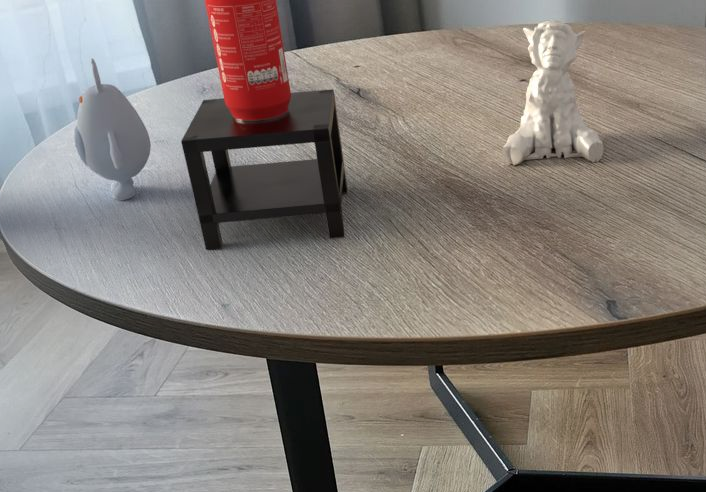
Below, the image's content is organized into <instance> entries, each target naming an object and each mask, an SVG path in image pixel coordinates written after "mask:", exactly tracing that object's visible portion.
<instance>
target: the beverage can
mask: <svg viewBox="0 0 706 492" xmlns="http://www.w3.org/2000/svg"><path fill="white" fill-rule="evenodd" d="M204 4H205V10H206V14H207V19H208V24H209V30H210V34H211V39H212V44H213V50H214V54H215V59H216V64H217V70H218V75H219V79H220V85H221V89H222V90H221V91H222V95H223V98H224V100H225V104H226V106H227V107H228V108H229V110H230V111H231V113H232V115H233V118H234V119H236V120H240V121H264V120H270V119H274V118H277V117H280V116H283V115H285V114H286V113H287V112H288V106H289V102H290V99H291V93H292V91H291V86H290V78H289V74H288V67H287V62H286V61H287V60H286V55H285V48H284V41H283V35H282V30H281V24H280V18H279V12H278V6H277V0H204Z"/></svg>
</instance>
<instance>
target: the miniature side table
mask: <svg viewBox="0 0 706 492" xmlns="http://www.w3.org/2000/svg"><path fill="white" fill-rule="evenodd" d="M335 96H336V95H335V90H334V89H320V90H310V91H309V90H307V91H295V92H291V99H290V102H289V106H288V112H287V113H286V114H285V115H283V116H280V117H277V118H274V119H270V120H264V121H240V120H236V119H234V118H233V115H232V113H231V111H230V110H229V108H228V107H227V106H226V104H225V100H224V97H223V98H212V99H203V100H202V101H201V103H200V106H199V107H198V109H197V111H196V112H195V114H194V116H193V118H192V120H191V122H190V123H189V126H188V128H187V130H186V131H185V132H184V135H183V137H182V138H181V141H180V143H181V146H182V152H183V155H184V161H185V164H186V169H187V172H188V173H187V174H188V177H189V181H190V185H191V190H192V195H193V199H194V203H195V208H196V213H197V217H198V222H199V225H200V230H201V235H202V239H203V243H204V247H205V250H206V251H209V250H220V249H222V246H223V236H222V233H221V228H220V224H222V223H234V222H244V221H255V220H264V219H265V220H266V219H267V220H268V219H277V218H289V217H299V216H310V215H322V214H325V219H326V224H327V226H326V227H327V232H328V238H329V239H330V240H331V239H339V238H340V239H341V238H345V235H346V234H345V233H346V231H345V223H344V217H343V210H342V200H343V199H342V198H343V194H347V193H348V182H347V176H346V168H345V167H346V166H345V162H344V155H343V147H342V139H341V133H340V132H341V131H340V126H339V117H338V111H337V103H336V97H335ZM311 143H314V147H315V148H314V149H315V154H316V158H312V159H301V160H290V161H278V162H277V161H276V162H268V163H267V162H265V163H255V164H243V165H232V164H231V159H230V154H229V150H240V149H241V150H242V149H253V148H264V147H265V148H266V147H276V146H289V145H297V144H298V145H300V144H311ZM205 152H211V158H212V161H213V166H214V170H215V173H214V175H213V178H212V180H211V182H210V178H209V173H208V167H207V163H206V159H205V154H204V153H205Z"/></svg>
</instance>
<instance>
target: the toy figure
mask: <svg viewBox="0 0 706 492" xmlns="http://www.w3.org/2000/svg"><path fill="white" fill-rule="evenodd" d="M90 66H91V71H92V77H93V81H94V84H95V85H91V86H89V87H87V88H86V89H85V90H84V91H83V92H82V94H81V95H80V97H79V98H78V101H79V106H78V110H77V115H76V125H75V128H74V136H73V137H74V144H75V148H76V151H77V153H78V156H79V158H80V159H81V161H82V163H83V164H84V165H85V166H86V167H88V168H89V169H90V171H92V172H93V173H95V174H96V175H98V176H99V177H101V178H103V179H106V180H108V181H113V182H112V183H111V185H110V188H111V190H112V192H111V193H112V194H111V195H112V198H114V199H115V200H117V201H126V200H129V199H131V198H132V197H133V196H134V195H135V193H136V186H135V185H134V183H135V182H134V181H135V180H134V179H133V178H134V177H137V176H138V175H139V174H140V172H142V170H143V169H144V168H145V167H146V165H147V163H148V160H149V158H150V154H151V149H152V148H151V146H152V145H151V138H150V135H149V132H148V130H147V127H146V125H145V123H144V121H143V120H142V118H141V117H140V115H139V113H138V111H137V110H136V109H135V107H134V106H133V104H132V103H131V102H130V101H129V99H128V98H127V97H126V96H125V95H124V93H123V92H122V91H121V90H120V89H119V88H118V87H117V86H115V85H113V84H107V83H101V82H102V81H101V76H100V72H99V69H98V66H97V63H96V61H95V59H94V58H90Z"/></svg>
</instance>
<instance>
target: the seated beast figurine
mask: <svg viewBox="0 0 706 492" xmlns="http://www.w3.org/2000/svg"><path fill="white" fill-rule="evenodd" d="M522 31H523V33H524V35H525V37H526V39H527V41H528V43H529V45H528V47H527V51H528V52H529V58H530V60H531V64H532V65H534V66H535V68H537V69H536V70H534V72H533V74H532V76H531V78H530V79H529V84H528V86H527V88H526V91H525V98H526V99H525V100H526V101H525V105H524V106H525V107H524V109H523V115H522V116H521V117H520V122H519V124H520V126H519V128H518V129H517V130H516V131H515V132H514V133H512V134H510V135H509V136H508V137H507V141H506V142H505V144H504V145H503V147H502V149H501V153H500V154H501V158H502V160H503V161H504V162H505V164H507V165H512V166H514V167H515V166H517V165H521V164H522V163H523V162H524V161H529V160H542V159H544V157H546V159H547V160H548V159H550V158H551V157H557V158H558V159H561V158H562V155H563V157H564V159H568V158H584V159H586V160H587V161H588V162H591V163H598V162H600V160H602V159H601V158H602V157H603V155H604V151H605V150H604V144H603V141H602V140H601V139H600V136H599V134H598V133H597V132H596V131H595V130H594V129H593V128H591V127H588V125H586V123H585V120H584V119H583V117H582V116H581V110H580V108H579V105H578V103H577V99H578V98H577V92H576V89H575V86H576V85H575V84H574V81H573V78H571V77H570V73H569V72H568V71H569V68H570V66H571V65H572V63H573V62H575V61H576V60H577V59H578V53H577V52H578V50H579V49H580V47H581V45H582V42H583V38H584V36H585V34H586V33H587V30H582V31H580V32H578V33H576V32H574V31H573V28H572V26H571V25H570V24H568V23H564V22H562V21H561V20H558V19H552V20H548V19H547V20H546V21H545V20H544V21H543V22H539V23H538V24H537V26H535V27H534V29H531V28H529V27H523V28H522ZM552 150H555V153H554V152H553V153H552Z"/></svg>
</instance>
